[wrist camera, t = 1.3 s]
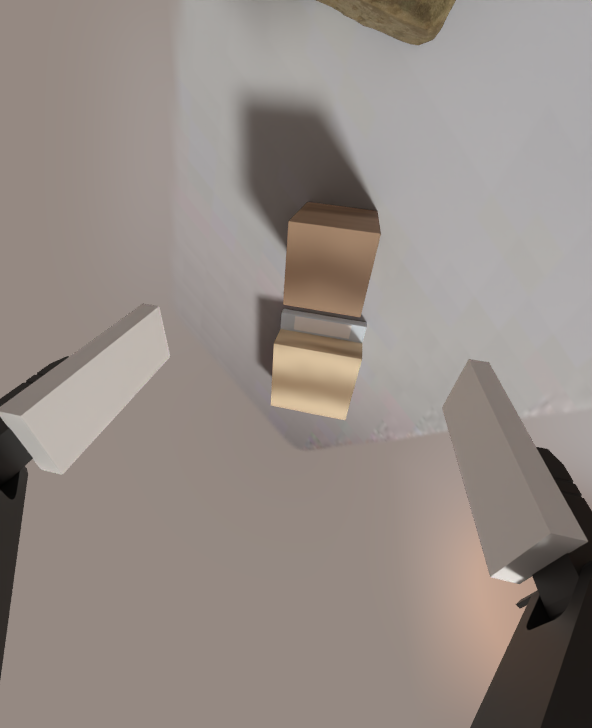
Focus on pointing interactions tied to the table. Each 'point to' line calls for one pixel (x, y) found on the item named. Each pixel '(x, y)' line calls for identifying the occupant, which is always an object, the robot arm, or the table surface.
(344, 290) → the walnut block
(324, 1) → the stone block
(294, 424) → the table surface
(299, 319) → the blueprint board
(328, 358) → the oak plinth
